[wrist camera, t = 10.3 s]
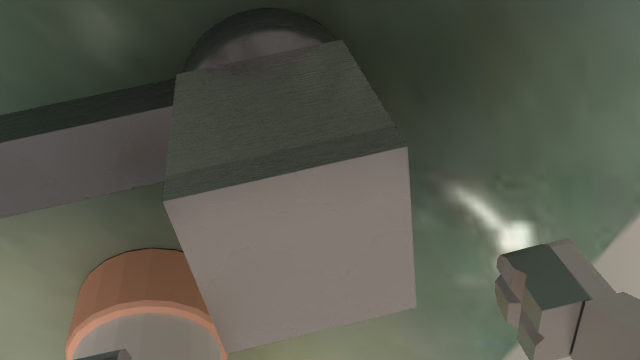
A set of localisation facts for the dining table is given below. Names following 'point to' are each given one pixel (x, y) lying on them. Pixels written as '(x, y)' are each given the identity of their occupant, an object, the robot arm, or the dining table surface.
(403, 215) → the light grey cube
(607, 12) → the dining table surface
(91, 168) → the ratchet
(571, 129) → the dining table surface
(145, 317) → the pepper shaker
